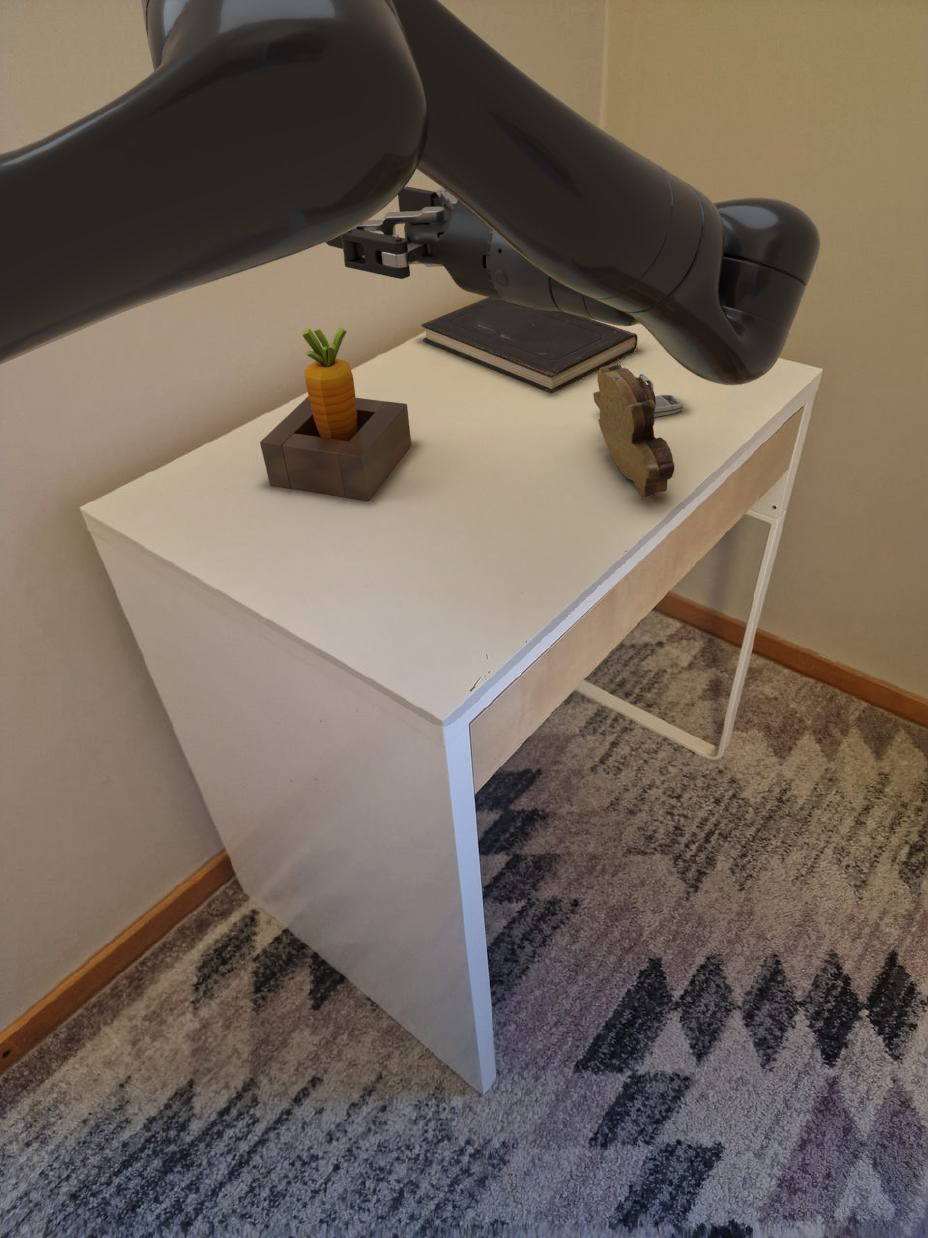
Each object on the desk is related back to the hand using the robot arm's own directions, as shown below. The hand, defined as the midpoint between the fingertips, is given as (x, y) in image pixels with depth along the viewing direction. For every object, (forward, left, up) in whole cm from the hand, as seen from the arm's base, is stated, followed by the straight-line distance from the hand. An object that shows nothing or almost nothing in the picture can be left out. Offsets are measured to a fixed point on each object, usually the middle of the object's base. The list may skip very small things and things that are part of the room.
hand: (364, 214), depth 69 cm
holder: (-8, +3, -26) cm, 27 cm away
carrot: (-8, +3, -26) cm, 27 cm away
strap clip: (+20, +22, -26) cm, 40 cm away
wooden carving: (+21, +10, -26) cm, 35 cm away
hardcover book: (+3, +36, -26) cm, 45 cm away
